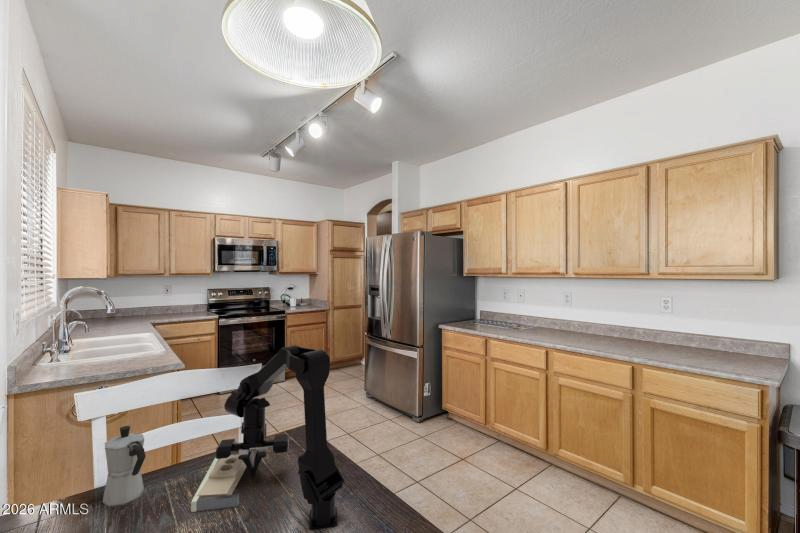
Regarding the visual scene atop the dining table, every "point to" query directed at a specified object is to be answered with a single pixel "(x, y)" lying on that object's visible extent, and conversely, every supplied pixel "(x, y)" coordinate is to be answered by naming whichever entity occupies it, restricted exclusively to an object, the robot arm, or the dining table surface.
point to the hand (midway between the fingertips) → (253, 476)
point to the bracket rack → (216, 501)
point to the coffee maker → (124, 468)
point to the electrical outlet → (223, 477)
